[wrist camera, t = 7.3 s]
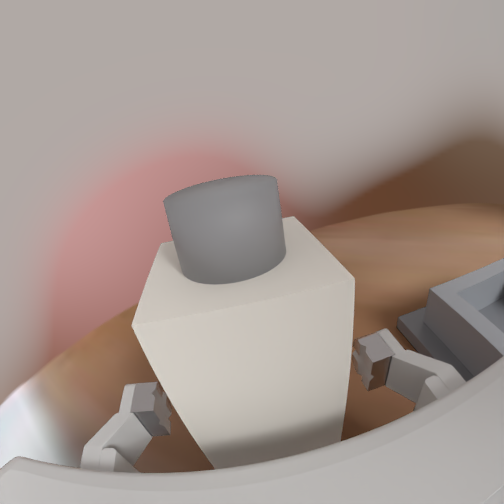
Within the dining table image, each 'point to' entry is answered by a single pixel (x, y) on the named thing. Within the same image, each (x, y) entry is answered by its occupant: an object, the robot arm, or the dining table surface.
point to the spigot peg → (248, 324)
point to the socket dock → (461, 321)
